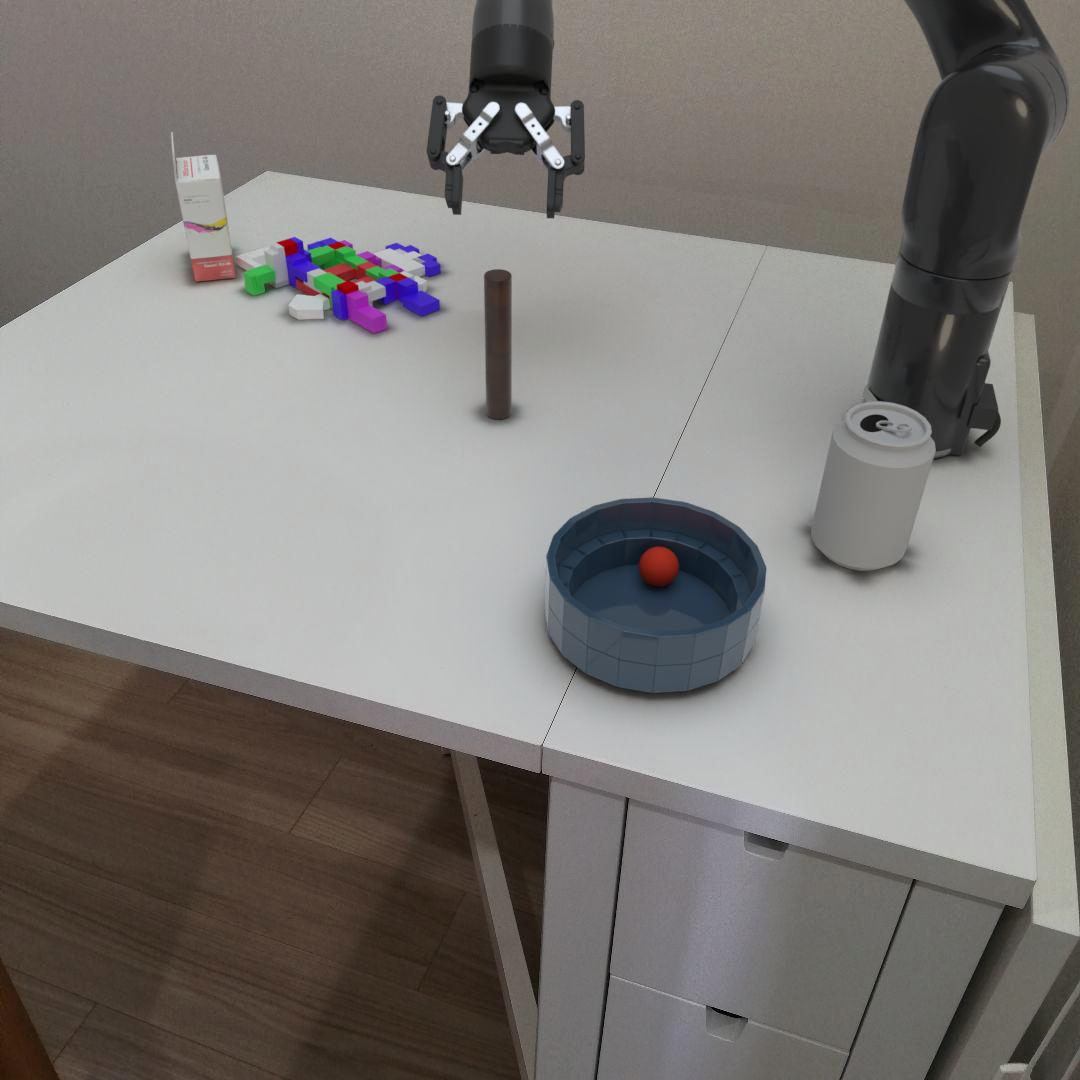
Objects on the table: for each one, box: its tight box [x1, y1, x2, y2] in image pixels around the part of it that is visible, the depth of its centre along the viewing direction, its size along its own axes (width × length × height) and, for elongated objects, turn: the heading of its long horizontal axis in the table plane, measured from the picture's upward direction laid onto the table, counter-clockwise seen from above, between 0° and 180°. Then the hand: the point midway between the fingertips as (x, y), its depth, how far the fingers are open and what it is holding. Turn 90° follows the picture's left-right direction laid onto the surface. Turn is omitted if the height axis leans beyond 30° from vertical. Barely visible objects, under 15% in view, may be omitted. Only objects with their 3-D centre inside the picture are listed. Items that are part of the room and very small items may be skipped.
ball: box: [639, 547, 679, 587], centre depth 79 cm, size 3×3×3 cm
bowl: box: [544, 496, 767, 694], centre depth 76 cm, size 15×15×6 cm
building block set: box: [235, 236, 442, 334], centre depth 121 cm, size 25×20×4 cm
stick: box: [483, 268, 513, 421], centre depth 96 cm, size 2×2×14 cm
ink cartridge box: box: [170, 131, 237, 282], centre depth 121 cm, size 9×5×15 cm, turn 17°
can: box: [810, 401, 936, 572], centre depth 81 cm, size 8×8×12 cm
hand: (503, 213), depth 95 cm, fingers open, 8 cm apart
